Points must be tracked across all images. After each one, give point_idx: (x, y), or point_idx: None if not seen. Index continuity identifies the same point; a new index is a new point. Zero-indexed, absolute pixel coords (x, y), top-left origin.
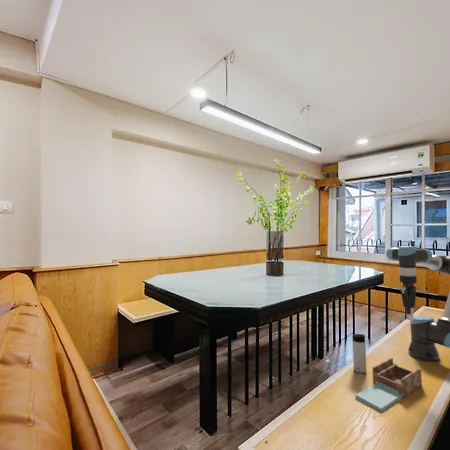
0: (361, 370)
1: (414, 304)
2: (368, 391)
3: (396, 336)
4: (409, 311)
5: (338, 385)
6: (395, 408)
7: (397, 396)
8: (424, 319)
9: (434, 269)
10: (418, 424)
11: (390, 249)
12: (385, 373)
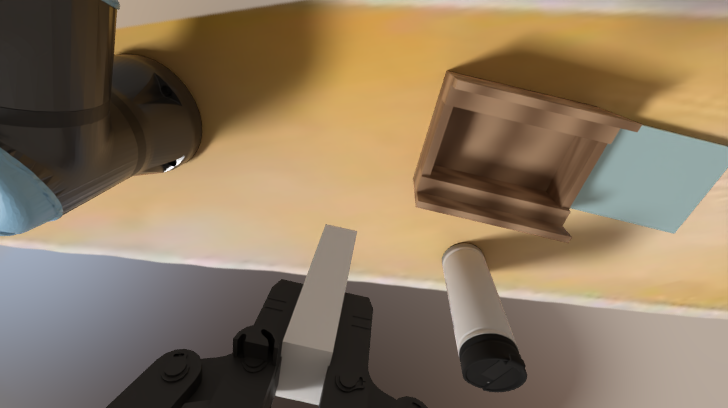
0: (484, 258)
1: (185, 372)
2: (630, 208)
3: (57, 230)
4: (369, 331)
5: (605, 281)
6: (685, 114)
7: None
8: None
9: None
10: None
11: None
12: (512, 194)
